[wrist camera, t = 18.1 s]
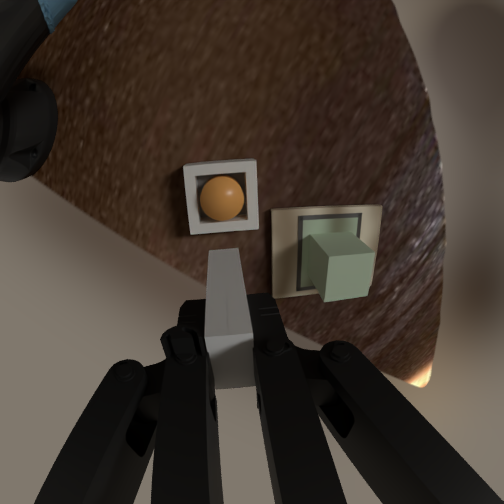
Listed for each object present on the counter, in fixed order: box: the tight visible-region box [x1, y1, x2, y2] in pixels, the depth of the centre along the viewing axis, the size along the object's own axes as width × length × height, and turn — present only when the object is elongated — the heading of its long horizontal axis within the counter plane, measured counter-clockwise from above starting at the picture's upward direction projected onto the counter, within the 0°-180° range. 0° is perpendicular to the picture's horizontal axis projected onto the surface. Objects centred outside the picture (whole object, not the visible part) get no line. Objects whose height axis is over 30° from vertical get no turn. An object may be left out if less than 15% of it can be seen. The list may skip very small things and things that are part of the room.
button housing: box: [183, 159, 259, 235], centre depth 32 cm, size 8×8×3 cm
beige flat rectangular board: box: [271, 205, 382, 298], centre depth 37 cm, size 16×13×1 cm
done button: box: [200, 174, 244, 221], centre depth 31 cm, size 5×5×3 cm
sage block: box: [308, 232, 375, 302], centre depth 34 cm, size 6×6×7 cm
